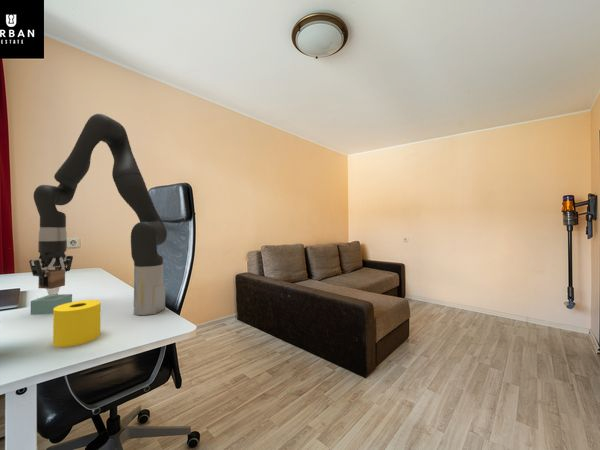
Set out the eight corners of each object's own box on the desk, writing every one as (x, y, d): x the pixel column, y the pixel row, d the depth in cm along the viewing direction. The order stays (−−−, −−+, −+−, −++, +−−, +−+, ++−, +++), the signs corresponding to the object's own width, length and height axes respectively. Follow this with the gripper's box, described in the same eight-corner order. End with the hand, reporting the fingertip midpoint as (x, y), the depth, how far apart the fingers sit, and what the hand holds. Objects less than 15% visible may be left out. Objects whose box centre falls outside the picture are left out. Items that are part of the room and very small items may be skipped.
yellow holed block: (45, 350, 65) (45, 313, 65) (63, 334, 74) (63, 302, 74) (93, 343, 69) (93, 308, 69) (104, 329, 78) (105, 298, 78)
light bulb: (68, 297, 112) (68, 272, 112) (51, 301, 105) (52, 275, 105) (54, 296, 112) (54, 271, 112) (37, 301, 106) (37, 274, 106)
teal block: (72, 306, 99) (72, 294, 99) (56, 313, 92) (56, 300, 92) (48, 308, 98) (48, 295, 98) (30, 315, 90) (30, 301, 90)
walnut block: (64, 285, 97) (65, 269, 97) (51, 288, 92) (51, 272, 92) (52, 285, 97) (52, 269, 97) (38, 288, 92) (38, 271, 92)
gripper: (41, 241, 87) (40, 290, 87) (80, 238, 102) (79, 281, 102) (21, 240, 88) (20, 289, 88) (62, 238, 102) (62, 280, 102)
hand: (52, 285), depth 95 cm, fingers closed on walnut block, 5 cm apart
